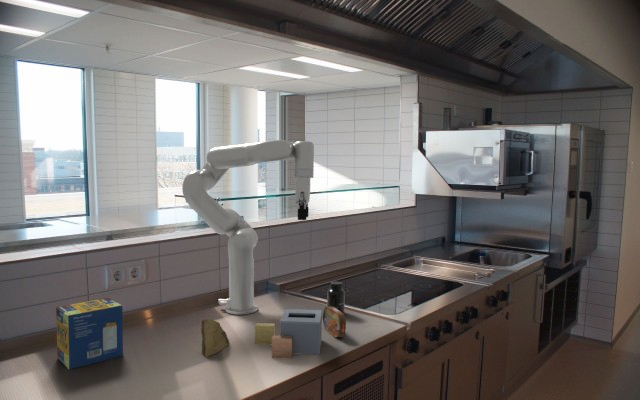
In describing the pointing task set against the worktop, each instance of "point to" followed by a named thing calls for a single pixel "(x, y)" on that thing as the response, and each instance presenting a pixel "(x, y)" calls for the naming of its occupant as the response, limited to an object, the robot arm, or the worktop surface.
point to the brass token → (264, 333)
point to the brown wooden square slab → (282, 346)
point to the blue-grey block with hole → (303, 329)
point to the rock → (212, 337)
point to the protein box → (89, 332)
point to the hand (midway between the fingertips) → (303, 218)
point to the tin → (334, 321)
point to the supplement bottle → (336, 296)
